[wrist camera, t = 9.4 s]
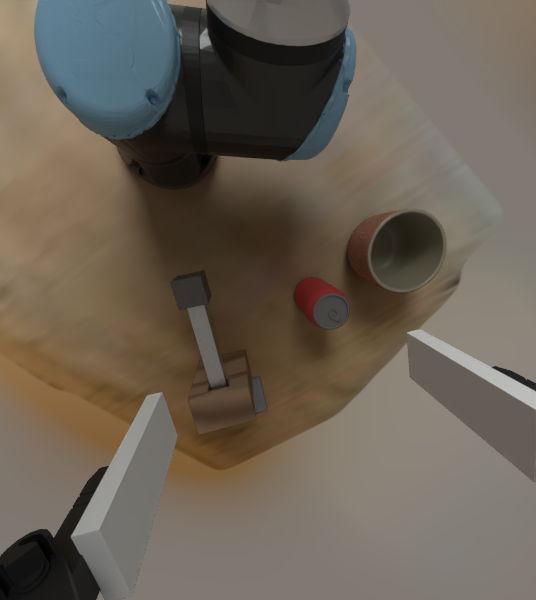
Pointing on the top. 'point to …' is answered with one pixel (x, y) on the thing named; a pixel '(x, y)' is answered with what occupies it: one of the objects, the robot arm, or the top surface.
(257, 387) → the pad
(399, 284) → the planter
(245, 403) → the bearing block
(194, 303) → the shaft
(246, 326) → the top surface
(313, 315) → the beer can
